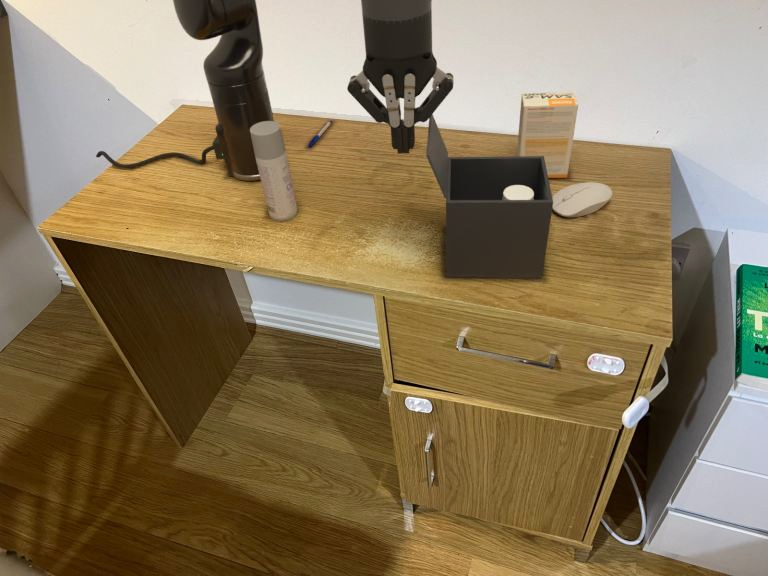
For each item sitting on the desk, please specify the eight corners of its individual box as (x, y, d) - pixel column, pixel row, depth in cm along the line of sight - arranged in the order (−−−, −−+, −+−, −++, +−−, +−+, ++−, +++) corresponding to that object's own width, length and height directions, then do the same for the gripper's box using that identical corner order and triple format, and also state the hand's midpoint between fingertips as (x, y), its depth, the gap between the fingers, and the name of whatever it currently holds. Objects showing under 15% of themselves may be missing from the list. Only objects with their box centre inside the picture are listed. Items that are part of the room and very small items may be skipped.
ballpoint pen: (312, 148, 111) (311, 144, 111) (307, 148, 112) (306, 143, 111) (332, 123, 119) (332, 118, 118) (328, 122, 119) (327, 118, 118)
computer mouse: (541, 204, 93) (543, 187, 91) (594, 187, 95) (597, 171, 93) (563, 224, 89) (566, 207, 87) (618, 206, 91) (622, 190, 89)
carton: (445, 277, 82) (445, 202, 73) (446, 230, 90) (447, 156, 81) (541, 279, 80) (553, 202, 72) (534, 230, 88) (544, 155, 80)
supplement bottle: (486, 243, 86) (490, 187, 79) (519, 234, 87) (525, 177, 80) (505, 265, 82) (510, 207, 75) (539, 255, 83) (547, 197, 77)
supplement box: (563, 164, 101) (575, 90, 92) (567, 179, 98) (579, 104, 89) (514, 164, 102) (521, 91, 93) (516, 179, 99) (523, 105, 90)
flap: (446, 197, 73) (444, 198, 73) (448, 152, 81) (446, 153, 81) (428, 154, 69) (426, 155, 69) (431, 112, 77) (429, 113, 77)
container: (298, 218, 94) (281, 133, 84) (269, 223, 94) (248, 137, 84) (297, 202, 98) (280, 118, 88) (269, 206, 98) (249, 122, 87)
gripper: (330, 20, 61) (348, 166, 73) (458, 15, 60) (456, 165, 71) (341, -3, 67) (356, 137, 79) (458, -8, 65) (456, 135, 77)
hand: (404, 150), depth 75 cm, fingers closed
